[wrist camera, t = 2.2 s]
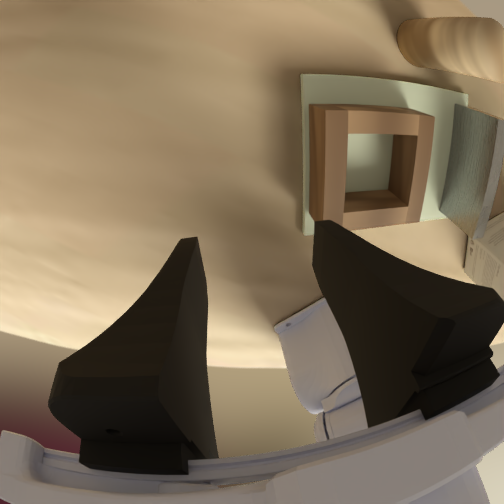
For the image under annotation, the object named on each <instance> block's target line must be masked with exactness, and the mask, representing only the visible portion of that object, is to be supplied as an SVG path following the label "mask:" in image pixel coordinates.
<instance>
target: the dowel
mask: <svg viewBox="0 0 504 504" xmlns="http://www.w3.org/2000/svg"><path fill="white" fill-rule="evenodd" d="M397 42H398V46H399V49H400V51H401V53H402V55H403V56H404V58H405V59H406V60H407V61H408V62H409V63H411V64H412V65H414V66H417V67H423V68H430V69H437V70H443V71H449V72H454V73H460V74H465V75H469V76H474V77H478V78H482V79H486V80H490V81H494V82H498V83H504V28H503V27H502V25H501V24H500V23H499V22H497V21H496V20H494V19H492V18H481V17H440V18H423V19H411V20H406V21H404V22H403V23H402V24H401V25H400V27H399V29H398V32H397Z"/></svg>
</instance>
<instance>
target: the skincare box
mask: <svg viewBox="0 0 504 504" xmlns="http://www.w3.org/2000/svg"><path fill="white" fill-rule="evenodd" d="M464 272H465V273H466V274H467V275H468V276H469V277H470V278H471V279H472V280H473V282H474V283H475V284H476V285H480V286H485V287H490V288H493V289H494V290H495V291H496V292H497V293H498V294H499V296H500V297H501V298H502V299H503V300H504V212H503V213H501V214H499V215H498V216H496V217H494V218H493V219H491V220H489V221H488V223H487V226H486V230H485V233H484V236H483V238H478V239H473V240H472V239H471V238H470V237H469V236H468V244H467V252H466V260H465V268H464Z"/></svg>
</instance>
